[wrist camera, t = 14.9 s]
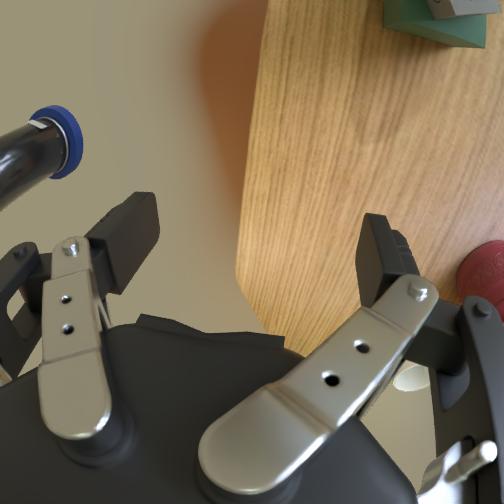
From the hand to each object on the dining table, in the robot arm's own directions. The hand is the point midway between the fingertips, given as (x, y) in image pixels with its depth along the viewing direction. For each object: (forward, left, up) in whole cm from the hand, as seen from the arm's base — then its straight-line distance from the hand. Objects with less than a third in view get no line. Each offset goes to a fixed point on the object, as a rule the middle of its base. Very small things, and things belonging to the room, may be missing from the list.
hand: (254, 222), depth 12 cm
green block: (+14, +16, -28) cm, 35 cm away
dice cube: (+14, +16, -20) cm, 29 cm away
